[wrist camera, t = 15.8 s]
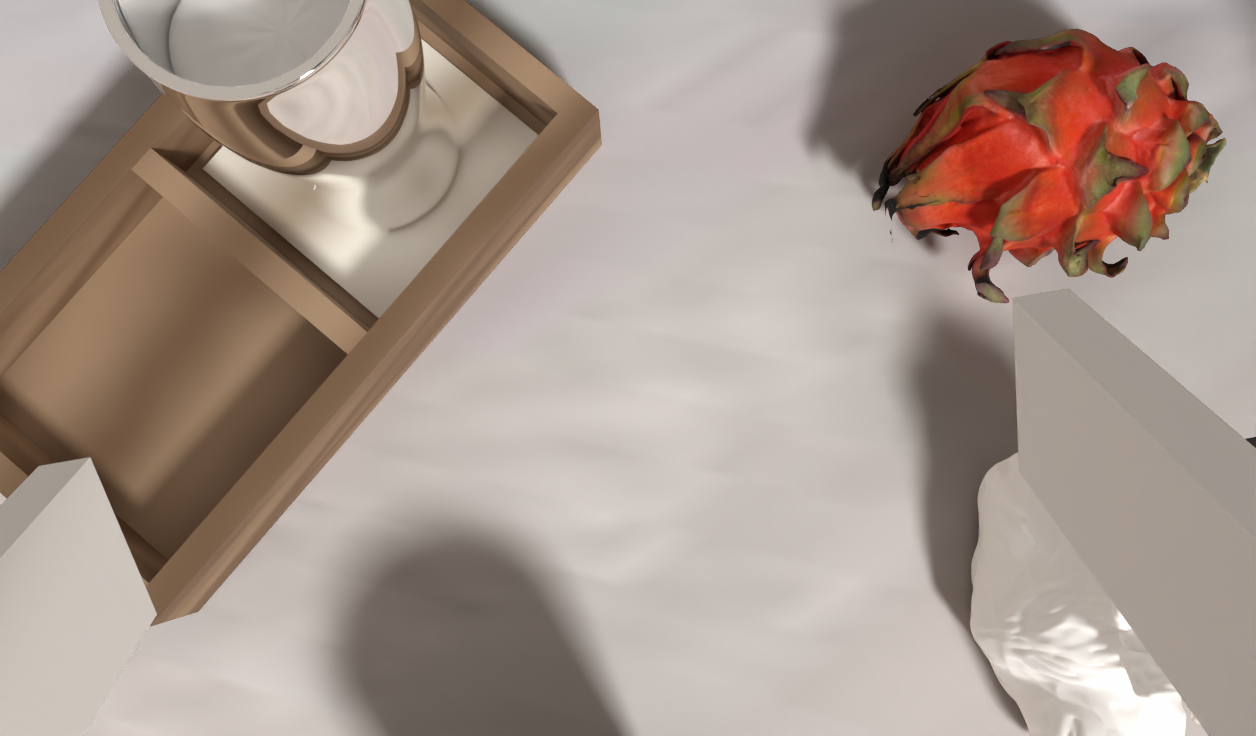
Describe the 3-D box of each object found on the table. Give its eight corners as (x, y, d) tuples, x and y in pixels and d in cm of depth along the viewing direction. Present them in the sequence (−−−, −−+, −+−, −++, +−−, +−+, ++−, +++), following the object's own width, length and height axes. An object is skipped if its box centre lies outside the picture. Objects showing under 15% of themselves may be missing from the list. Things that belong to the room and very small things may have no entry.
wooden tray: (601, 144, 42) (598, 109, 38) (198, 611, 40) (150, 626, 36) (366, -49, 43) (339, -102, 39) (-39, 402, 41) (-111, 394, 37)
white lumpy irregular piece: (1073, 754, 42) (1413, 782, 33) (956, 824, 37) (1316, 877, 29) (1001, 445, 43) (1311, 394, 34) (878, 475, 38) (1201, 424, 30)
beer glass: (266, 86, 41) (58, -136, 26) (448, 42, 41) (343, -205, 26) (306, 264, 40) (116, 139, 26) (490, 218, 41) (408, 68, 26)
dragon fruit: (1166, 189, 44) (861, 247, 45) (1172, -29, 39) (836, 43, 41) (1267, 288, 36) (900, 353, 38) (1289, 33, 32) (874, 118, 34)
